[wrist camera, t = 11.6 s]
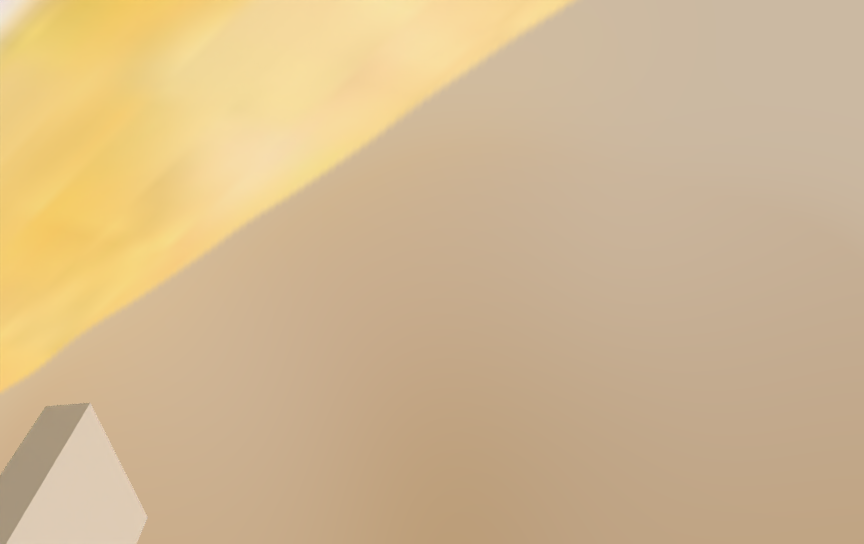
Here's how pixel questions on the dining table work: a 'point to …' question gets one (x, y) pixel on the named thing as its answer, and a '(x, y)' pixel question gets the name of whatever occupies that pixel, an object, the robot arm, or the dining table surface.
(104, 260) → the dining table surface
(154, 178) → the dining table surface
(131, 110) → the dining table surface
